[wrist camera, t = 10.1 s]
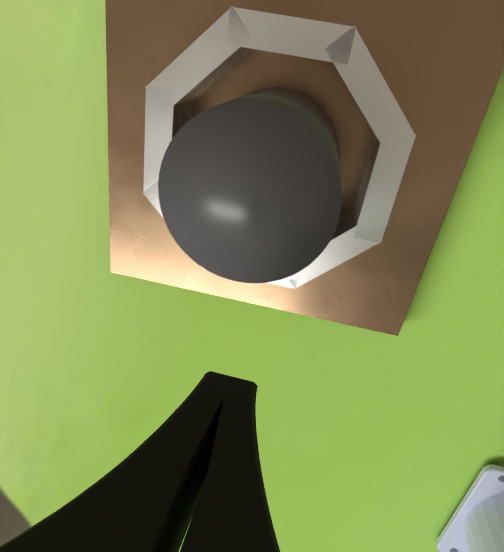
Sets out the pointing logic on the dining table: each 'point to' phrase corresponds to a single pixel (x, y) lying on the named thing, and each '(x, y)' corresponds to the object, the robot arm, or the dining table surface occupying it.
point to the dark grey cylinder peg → (253, 185)
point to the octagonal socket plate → (340, 108)
